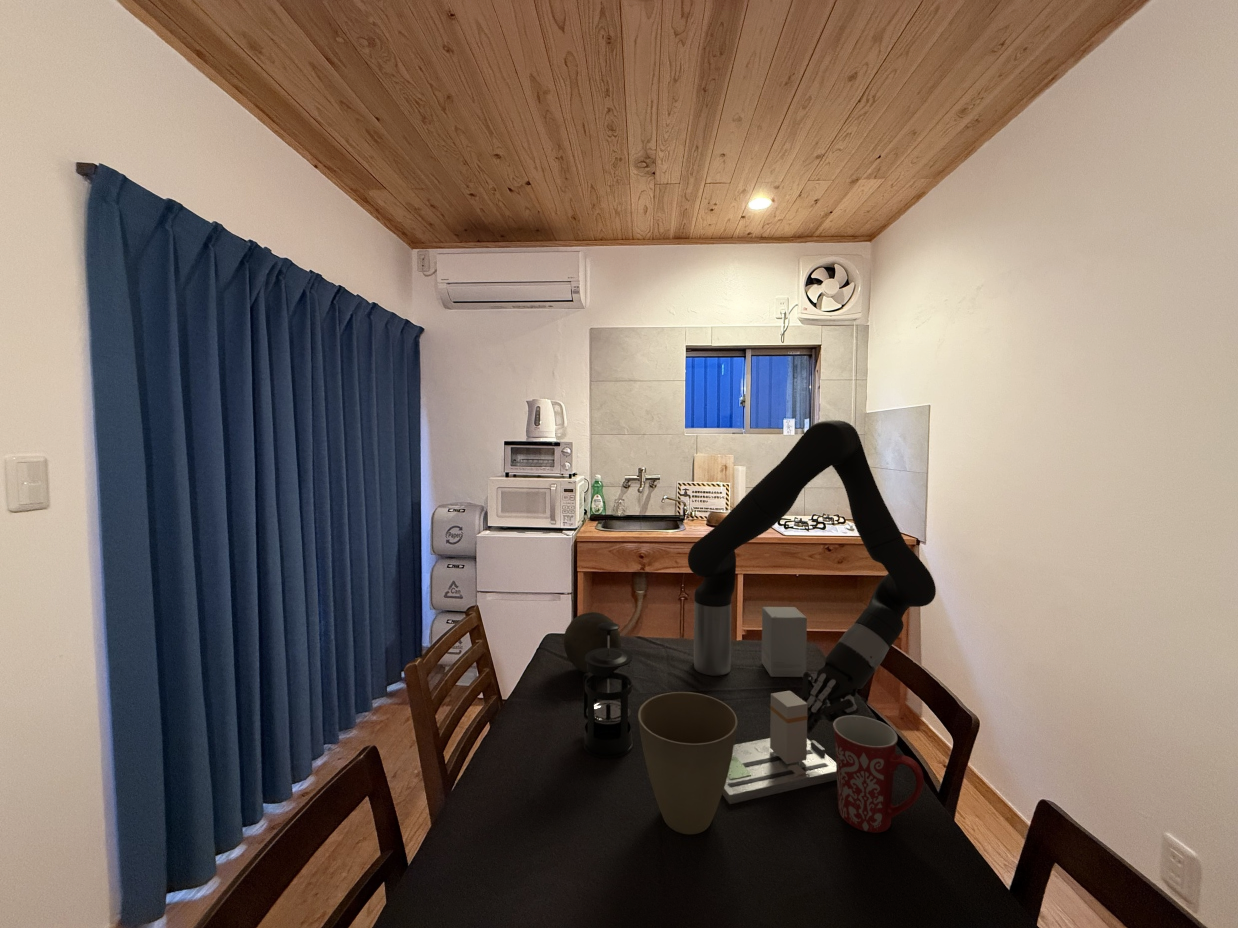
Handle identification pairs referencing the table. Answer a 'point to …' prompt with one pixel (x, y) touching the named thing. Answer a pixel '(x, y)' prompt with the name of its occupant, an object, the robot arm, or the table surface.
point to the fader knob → (788, 727)
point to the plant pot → (687, 755)
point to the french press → (607, 700)
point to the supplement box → (784, 641)
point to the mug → (869, 772)
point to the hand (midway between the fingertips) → (800, 730)
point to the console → (773, 771)
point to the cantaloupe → (587, 638)
